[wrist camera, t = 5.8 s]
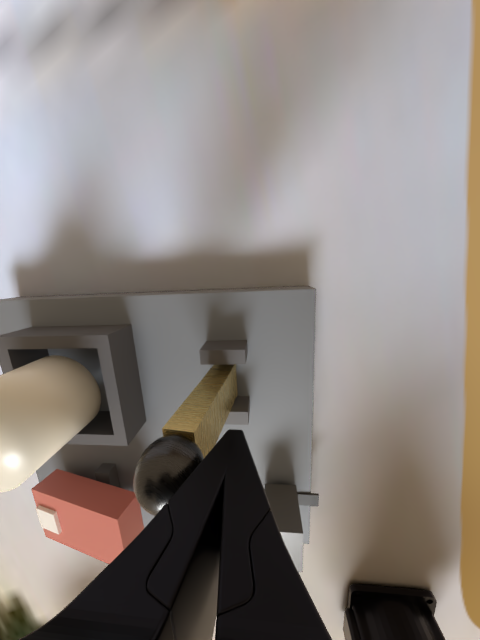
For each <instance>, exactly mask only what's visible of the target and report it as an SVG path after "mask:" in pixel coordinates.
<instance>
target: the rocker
mask: <svg viewBox="0 0 480 640" xmlns="http://www.w3.org/2000/svg"><path fill="white" fill-rule="evenodd" d="M32 493H33V496H34V499H35V502H36V506H37V507H36V511H37V514H38V517H39V521H40V524H41V527H42V528H43V529H44V532H45V535H46V537H48V538H50V539H53V540H55V541H57V542H60V543H62V544H64V545H66V546H69V547H71V548H73V549H76V550H78V551H80V552H83V553H85V554H87V555H89V556H92V557H94V558H96V559H99V560H101V561H103V562H105V563H108V564H110V563H111V562H112V561H113V560H114V559H115V558H116V557H117V556H118V555H119V554H120V553H121V552H122V551H123V550H124V549H125V548H126V547H127V546H128V545H129V544H130V543H131V542H132V541H133V540H134V539H135V538H136V537H137V536H138V535H139V534H140V532H141V531H142V530H143V529H144V525H143V519H142V514H141V508H140V504H139V503H138V501H137V499H136V496H135V493H134V492H132V491H129V490H125V489H122V488H119V487H115V486H112V485H109V484H106V483H102V482H99V481H96V480H92V479H89V478H86V477H83V476H79V475H76V474H73V473H69V472H66V471H63V470H59V469H56V470H55V471H54V472H52V473H51V474H50V475H49V476H47V477H46V478H45V479H44V480H42V481H41V482H40V483H38V484H37V485H36V486H35V487H33V488H32Z"/></svg>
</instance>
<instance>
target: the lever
mask: <svg viewBox="0 0 480 640" xmlns="http://www.w3.org/2000/svg"><path fill="white" fill-rule="evenodd" d="M237 395H238V391H237V373H236V364H222V365H213V366H212V368H211V369H210V370H209V371H208V372H207V374H206V375H205V376H204V377H203V379H202V380H201V381H200V382H199V384H198V385H197V386H196V387H195V388H194V390H193V391H192V392H191V393H190V395H189V396H188V397H187V398H186V400H185V401H184V402H183V403H182V404H181V406H180V407H179V408H178V409H177V411H176V412H175V413H174V414H173V416H172V417H171V418H170V419H169V421H168V422H167V423H166V424H165V425H164V427H163V428H162V432H163V437H160V438H159V439H157V440H155V441H154V442H152V443H151V444H150V445H149V446H148V447H147V448H146V449H145V450H144V452H143V453H142V454H141V456H140V458H139V460H138V462H137V465H136V467H135V471H134V476H133V488H134V493H135V496H136V499H137V501H138V503H139V504H140V506H141V507H142V508H143V509H144V510H145V511H146V512H148V513H149V514H151V515H154V516H156V515H157V513H158V512H159V511H160V510H161V509H162V507H163V506H164V505H165V504H167V502H168V500H169V499H170V498H171V497H172V496H173V494H174V493H175V492H176V491H177V490H178V489H179V487H180V486H181V485H182V484H183V483H184V481H185V480H186V479H187V478H188V477H189V475H190V474H191V473H192V472H193V471H194V470H195V468H196V467H197V466H198V465H199V464H200V462H201V461H202V460H203V459H204V458H205V456H206V455H207V454H208V453H209V452H210V451H211V449H212V448H213V447H214V446H215V444H216V442H217V440H218V438H219V435H220V433H221V431H222V429H223V426H224V424H225V422H226V420H227V417H228V415H229V413H230V411H231V408H232V406H233V404H234V401H235V399H236V397H237Z"/></svg>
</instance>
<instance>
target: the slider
mask: <svg viewBox="0 0 480 640" xmlns="http://www.w3.org/2000/svg"><path fill="white" fill-rule="evenodd" d="M265 493H266V496H267V499H268V501H269V504H270V507H271V511H272V512H273V515H274V517H275V520H276V523H277V526H278V528H279V531H280V533H281V536H282V538H283V541H284V543H285V545H286V547H287V550H288V552H289V554H290V556H291V558H292V560H293V563H294V565H295V567H296V569H297V571H298V572H303V528H302V521H301V515H300V508H299V502H298V495H297V489H296V485H283V484H265Z"/></svg>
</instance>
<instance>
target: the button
mask: <svg viewBox="0 0 480 640" xmlns="http://www.w3.org/2000/svg"><path fill="white" fill-rule="evenodd" d="M100 405H101V393H100V389H99V386H98V384H97V382H96V380H95V378H94V377H93V375H92V374H91V373H90V372H89V371H88V370H87V369H86V368H85V367H84V366H83V365H81V364H80V363H79V362H77V361H75V360H73V359H71V358H68V357H65V356H59V355H52V356H46V357H43V358H41V359H38V360H36V361H34V362H31V363H29V364H26V365H24V366H22V367H19V368H17V369H14V370H12V371H10V372H7V373H5V374H2V375H0V492H7V491H10V490H13V489H15V488H17V487H18V486H20V485H21V484H22V483H23V482H24V481H25V480H26V479H28V478H29V477H30V476H31V475H32V474H33V473H34V472H35V471H36V470H38V469H39V468H40V467H41V466H42V465H43V464H44V463H45V462H46V461H47V460H49V459H50V458H51V457H52V456H53V455H54V454H55V453H56V452H57V451H59V450H60V449H61V448H62V447H63V446H64V445H65V444H66V443H67V442H68V441H70V440H71V439H72V438H73V437H74V436H75V435H76V434H77V433H78V432H80V431H81V430H82V429H83V428H84V427H85V426H86V425H87V424H88V423H89V422H91V421H92V420H93V419H94V418H95V416H96V415H97V414H98V412H99V409H100Z"/></svg>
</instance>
